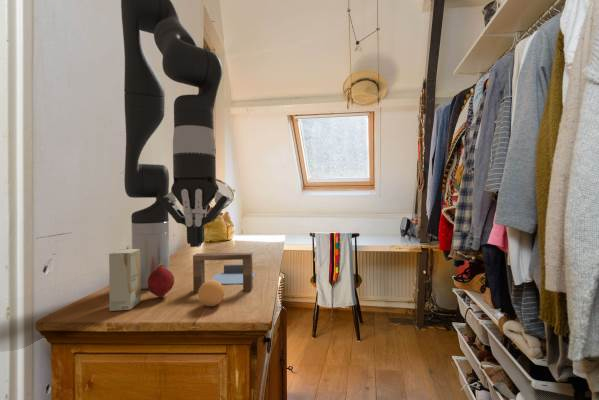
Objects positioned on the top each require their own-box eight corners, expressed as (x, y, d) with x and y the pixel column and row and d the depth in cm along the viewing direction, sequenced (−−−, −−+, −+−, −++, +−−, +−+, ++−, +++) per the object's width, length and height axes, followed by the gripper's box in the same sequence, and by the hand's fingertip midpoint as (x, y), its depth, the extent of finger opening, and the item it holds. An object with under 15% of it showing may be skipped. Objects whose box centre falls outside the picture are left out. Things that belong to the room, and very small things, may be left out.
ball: (192, 308, 64) (192, 282, 64) (208, 300, 69) (208, 276, 69) (214, 311, 62) (214, 284, 62) (229, 302, 68) (228, 278, 68)
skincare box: (130, 310, 64) (130, 252, 64) (108, 312, 63) (107, 253, 63) (142, 300, 70) (141, 248, 70) (121, 301, 69) (120, 248, 69)
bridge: (251, 290, 76) (250, 254, 76) (193, 292, 76) (192, 255, 76) (252, 287, 79) (252, 252, 79) (197, 288, 79) (196, 253, 79)
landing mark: (250, 283, 82) (249, 283, 82) (206, 284, 82) (206, 283, 82) (255, 273, 94) (255, 272, 94) (217, 273, 94) (217, 273, 94)
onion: (163, 302, 69) (163, 267, 69) (141, 300, 70) (141, 266, 70) (179, 294, 74) (178, 261, 74) (158, 292, 76) (157, 261, 75)
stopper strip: (223, 273, 95) (223, 265, 95) (224, 272, 96) (224, 264, 96) (249, 273, 95) (249, 265, 95) (249, 272, 96) (249, 264, 96)
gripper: (149, 151, 52) (150, 250, 52) (225, 150, 53) (227, 249, 53) (167, 157, 60) (168, 244, 60) (234, 156, 60) (235, 242, 60)
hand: (196, 246), depth 56 cm, fingers closed
